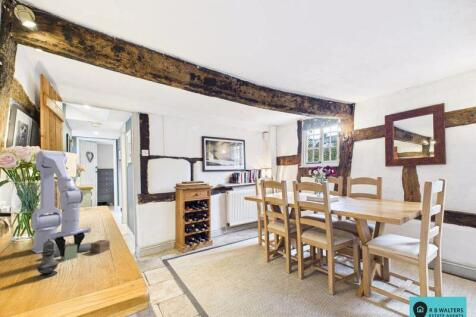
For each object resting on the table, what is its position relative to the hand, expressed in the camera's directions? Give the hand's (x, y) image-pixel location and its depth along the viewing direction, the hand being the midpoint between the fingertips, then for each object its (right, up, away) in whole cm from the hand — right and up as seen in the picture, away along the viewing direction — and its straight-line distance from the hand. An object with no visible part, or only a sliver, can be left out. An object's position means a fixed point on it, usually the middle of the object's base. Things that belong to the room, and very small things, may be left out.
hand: (69, 254), depth 90 cm
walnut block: (+8, -2, +8) cm, 11 cm away
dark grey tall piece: (+4, -1, -15) cm, 16 cm away
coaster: (-1, -2, +11) cm, 11 cm away
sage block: (0, -2, 0) cm, 2 cm away
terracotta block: (-9, -2, +8) cm, 12 cm away
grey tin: (-7, -2, +2) cm, 7 cm away
